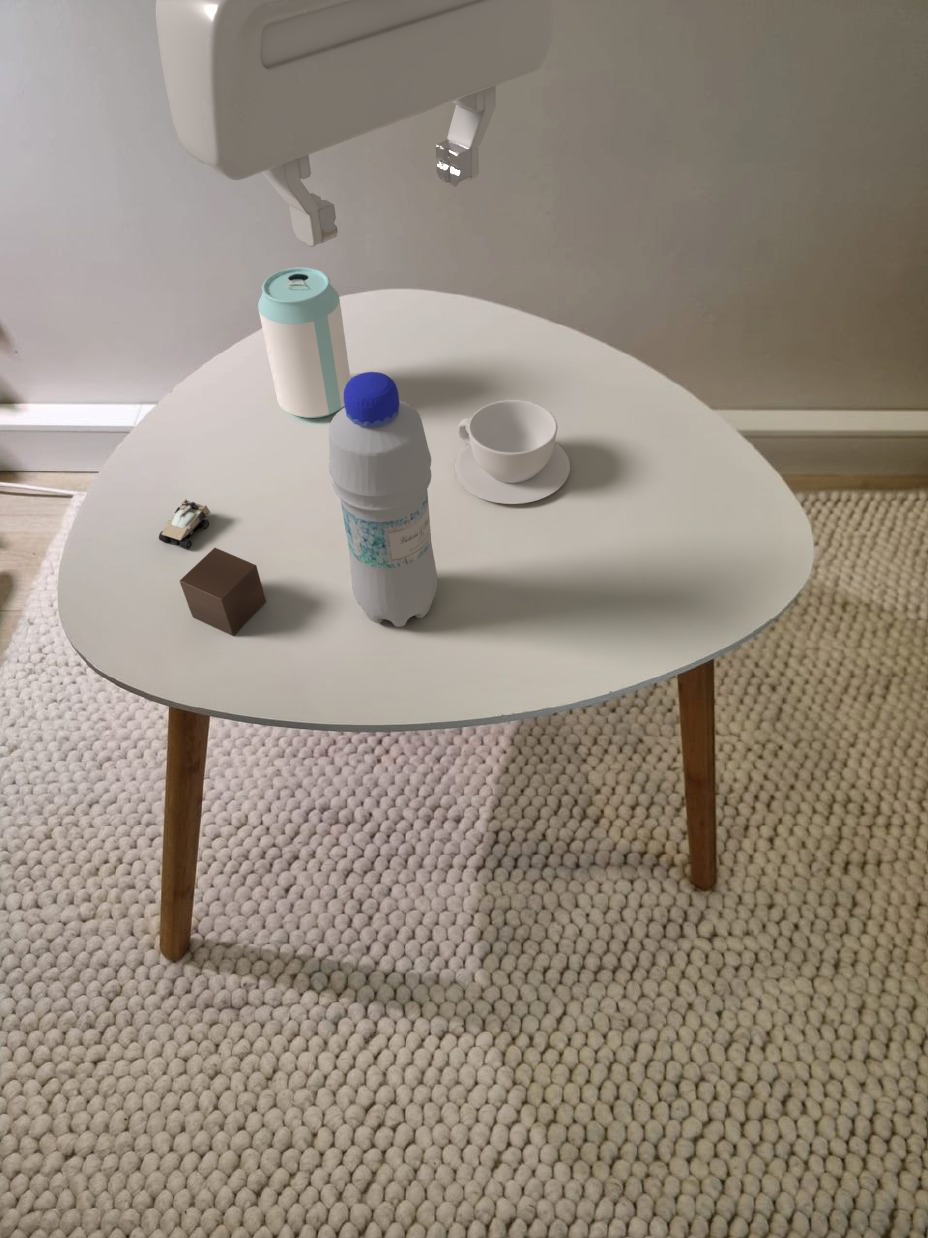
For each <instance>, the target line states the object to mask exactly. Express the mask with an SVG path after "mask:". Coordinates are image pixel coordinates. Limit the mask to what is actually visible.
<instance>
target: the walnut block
mask: <svg viewBox="0 0 928 1238" xmlns="http://www.w3.org/2000/svg"><path fill="white" fill-rule="evenodd" d="M179 584H180V586H181V589H182V592H183V595H184V597H185V600H186V603H187V606H188V609H189V611H190V614H191V617H192V618H193V619H196V620H198V621H200V622H202V623H204V624H206V625H209V626H211V627H213V628H215V629H217V630H219V631H221V632H223V633H225V634H228V635H230V636H232V637H234V636H235V635H236V634H237V633H238V632H239V631H240V630H241V629H242V628H243V627H244V626H245V625H246V624H247V623H248V622H249V621H250V620H251V618H253V616H254V615H256V613H257V612H258V611H259V610H260V609H261V608H262V607H263V606H264V605H265V604H266V603H267V598H266V595H265V591H264V588H263V584H262V580H261V577H260V573H259V570H258V566H257V564H256V563H255V564H254V563H252V562H250V561H248V560H245V559H243V558H241V557H239V556H236V555H234V554H231V553H229V552H226V551H225V550H222V549H219V548H218V547H213V548H212V550H210V551H209V552H208V553H207V554H206V555H204V557H203V558H202V559H201V560H200V561H199V562H198V563H197V564H195V565H194V566H193V567H192V568H191V569H190V570H189V571H188V572H187V573H186V574H185V575H183V576H182V577H181V579H180V580H179Z"/></svg>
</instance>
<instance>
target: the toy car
mask: <svg viewBox="0 0 928 1238" xmlns="http://www.w3.org/2000/svg"><path fill="white" fill-rule="evenodd" d="M210 513H211V510H210V509H209V507H208V505H207V504H205V505H203V504H199V503H196V502H195V501H190V500H188V499H186V498H185V500H184V501H182V502H181V505H180V506H178V507H177V508H176V509H175V511H174V513H173V514H174V515H173V516H172V518H171V519H169V520H168V521H167V524H166V526H165V527H164V529H163V530H161V531H160V532H159V533H158V534H159V535H158V540H159V541H160V542H163V543H165V544H168V543H171V544H172V545H175V546H179V548H182V549H184V550H189V549H191V547H192V545H193V540H192V539H191V538H192V537H193V535H194V534H195V533H197V531H199V530H201V529H203V530H206V529H208V528H209V526H210V521H209V520H208V519H206V518H207V517H208V516H209V514H210Z"/></svg>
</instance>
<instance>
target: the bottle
mask: <svg viewBox="0 0 928 1238" xmlns="http://www.w3.org/2000/svg"><path fill="white" fill-rule="evenodd" d="M344 404H345V406H344V407H342V408H341V409H340V410H338V411H337V412H336V413H335V415H334V416H333V418H332V419H331V422H330V424H329V428H328V435H329V436H328V445H329V446H328V456H329V457H328V461H329V462H328V472H329V474H330V477H331V479H332V481H331V482H332V483H331V484H332V486H333V490H334V492H335V495H337V497H338V498H339V499H340V506H341V510H342V516H343V523H344V528H345V534H346V541H347V546H348V547H347V548H348V551H349V565H350V578H351V587H352V591H353V596H354V598H355V601H356V603H357V604H358V605H359V606H360V607H361V609H362V610H363V612H364V613H365V615H366V617H367V618H368V619H369V620H370V621H372V622H373V623H374V624H375V623H376V624H380V623H382V622H383V621H384V620H387V621H389V622H391V623H392V624H393V625H394V626H395V627H396V628H401V627H404V626H406V624H407V621H408V620H409V619H410V618H413V617H416V619H417V618H418V619H423V618H424V617H425V616H427V614H428V612H429V611H430V609H431V606H432V603H433V600H434V597H435V596H436V593H437V590H438V574H437V573H438V572H437V567H436V560H435V553H434V550H433V544H432V531H431V530H432V529H431V519H430V517H431V516H430V506H429V505H430V503H429V493H428V488H429V486H430V485H431V481H432V469H431V466H432V455H431V452H430V448H429V445H428V440H427V437H426V432H425V428H424V425H423V421H422V420H423V419H422V417H421V416H420V414H419V412H418V411H417V409H416V408H414V406H412V405H410V404H408V403H407V402H405V401H402V400H400V394H399V390H398V385H397V384H396V383H395V381H394V380H393V379H392V378H391V377H390V376H389V375H387V374H385V373H383V372H378V371H367V372H362V373H359V374H355V375H354V376H353V377H352V378H351V379H350V380H349V382H348V383H347V384H346V387H345V389H344Z"/></svg>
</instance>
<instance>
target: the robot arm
mask: <svg viewBox="0 0 928 1238" xmlns="http://www.w3.org/2000/svg"><path fill="white" fill-rule="evenodd" d="M155 24H156V33H157V41H158V49H159V55H160V56H159V57H160V62H161V69H162V75H163V81H164V86H165V87H164V88H165V93H166V97H167V101H168V102H167V103H168V106H169V111H170V115H171V119H172V123H173V127H174V131H175V134H176V137H177V139H178V141H179V144H180V145H181V147H182V148H183V149H184V150H185V151H186V153H188V154H189V155H190V156H191V157H192V158H193V159H195V160H196V161H197V162H199V163H200V164H202V165H203V166H205V167H206V168H208V169H209V170H211V171H213V172H215V173H217V174H218V175H221V176H222V177H225V178H226V179H229V180H233V181H241V180H245V179H247V178H249V177H252V176H255V175H259V174H262V175H263V177H265V179H266V180H267V181H268V183H269V184H270V185H271V186H272V187H273V189H275V191H276V192H277V193H278V195H279V197H281V198H282V199H283V201H284V202H285V203H286V204H288V207H289V214H290V220H291V225H292V231H293V233H294V236H295V237H296V238H297V240H298V241H299V242H301V243H303V244H304V245H306V246H308V247H310V248H313V247H316V246H319V245H320V244H323V243H326V242H327V241H329V240H333V239H334V238H336V237H337V236H338V233H339V232H338V231H339V230H338V226H337V225H336V224H335V221H336V218H337V216H336V207H335V204H334V203H332V202H330V201H329V200H328V199H322V198H321V196H319V195H317V194H315V193H313V192H312V193H310V191H309V190H308V189H307V187H306V186H305V184H304V183H303V181H302V180H305V179H308V178H310V176H311V174H312V171H311V163H310V156H309V155H312V154H314V153H317V152H320V151H323V150H325V149H328V148H331V147H333V146H336V145H338V144H341V143H344V142H347V141H349V140H352V139H355V138H357V137H360V136H363V135H366V134H368V133H371V132H374V131H377V130H380V129H382V128H384V127H387V126H390V125H393V124H397V123H398V122H401V121H404V120H406V119H409V118H412V117H415V116H417V115H419V114H423V113H425V112H427V111H430V110H434V109H436V108H439V107H442V106H444V105H447V104H449V103H452V104H454V105H455V108H454V111H453V115H452V117H451V118H452V120H451V122H450V126H449V129H448V132H447V137H446V140H443V141H442V142H439V143H437V144H435V158H436V159H437V161H438V162H437V165H436V173H437V175H438V178H439V179H440V180H441V181H442V182H444V183H449V184H450V186H453V187H457V186H459V185H460V186H461V185H462V184H465V183H467V182H469V181H471V180H474V179H476V178H478V176H479V172H480V171H479V164H480V163H479V146H481V144H482V141H483V139H484V136H485V135H486V132H487V129H488V127H489V124H490V121H491V118H492V117H493V114H494V112H495V109H496V90H497V89H496V87H497V86H498V85H501V84H503V83H506V82H509V81H512V80H514V79H517V78H520V77H522V76H523V77H524V76H527V75H528V74H531V73H534V72H536V71H538V70H539V69H541V67H542V66H543V64H544V62H545V61H546V57H547V56H548V53H549V51H550V48H551V46H552V43H553V25H554V23H553V0H155Z"/></svg>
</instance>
